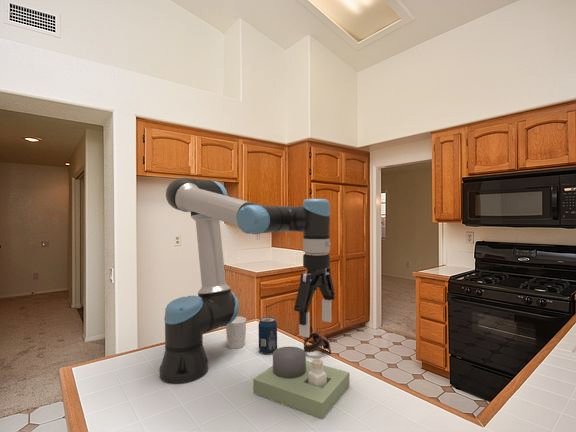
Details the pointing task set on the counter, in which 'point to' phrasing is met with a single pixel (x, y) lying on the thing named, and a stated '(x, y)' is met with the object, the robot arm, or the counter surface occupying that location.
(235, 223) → the robot arm
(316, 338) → the dark brown open frame
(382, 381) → the counter surface
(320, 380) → the pepper shaker
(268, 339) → the soda can
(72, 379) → the counter surface
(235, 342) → the white cup
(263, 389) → the green knob base
